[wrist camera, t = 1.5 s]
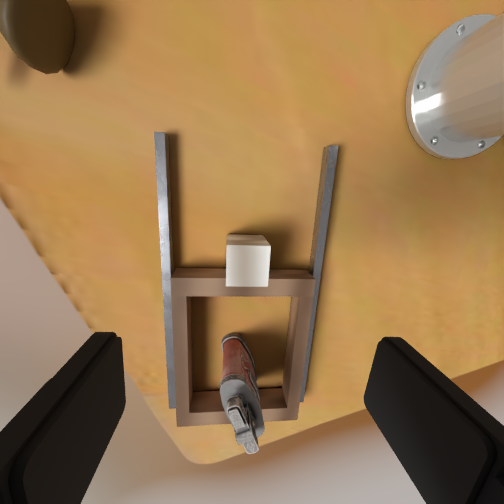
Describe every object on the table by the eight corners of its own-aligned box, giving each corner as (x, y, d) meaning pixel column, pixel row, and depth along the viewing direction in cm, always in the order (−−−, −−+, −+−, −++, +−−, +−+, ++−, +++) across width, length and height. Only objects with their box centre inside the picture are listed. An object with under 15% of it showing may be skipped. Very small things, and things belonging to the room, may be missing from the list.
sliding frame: (310, 236, 27) (328, 247, 22) (291, 399, 33) (302, 435, 28) (175, 232, 25) (162, 243, 20) (181, 404, 31) (173, 444, 26)
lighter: (261, 377, 31) (275, 460, 22) (237, 385, 31) (241, 472, 22) (241, 329, 29) (248, 397, 20) (216, 337, 29) (210, 411, 20)
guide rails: (331, 148, 24) (338, 145, 23) (300, 392, 33) (303, 401, 31) (158, 135, 23) (154, 131, 21) (171, 398, 31) (169, 408, 29)
